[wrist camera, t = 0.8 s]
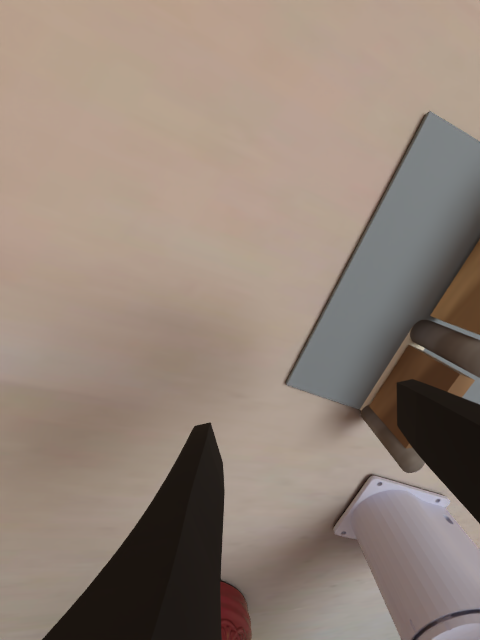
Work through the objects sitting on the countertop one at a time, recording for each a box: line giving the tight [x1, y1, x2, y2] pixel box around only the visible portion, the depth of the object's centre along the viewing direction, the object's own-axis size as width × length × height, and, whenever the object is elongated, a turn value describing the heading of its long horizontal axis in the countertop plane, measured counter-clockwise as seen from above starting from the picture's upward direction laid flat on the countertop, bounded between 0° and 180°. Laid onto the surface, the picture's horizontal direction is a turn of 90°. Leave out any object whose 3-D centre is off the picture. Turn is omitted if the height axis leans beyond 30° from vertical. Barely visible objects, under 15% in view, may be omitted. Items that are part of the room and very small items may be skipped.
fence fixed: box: [361, 320, 480, 473], centre depth 18 cm, size 2×10×5 cm, turn 157°
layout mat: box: [286, 111, 480, 411], centre depth 20 cm, size 22×20×1 cm
